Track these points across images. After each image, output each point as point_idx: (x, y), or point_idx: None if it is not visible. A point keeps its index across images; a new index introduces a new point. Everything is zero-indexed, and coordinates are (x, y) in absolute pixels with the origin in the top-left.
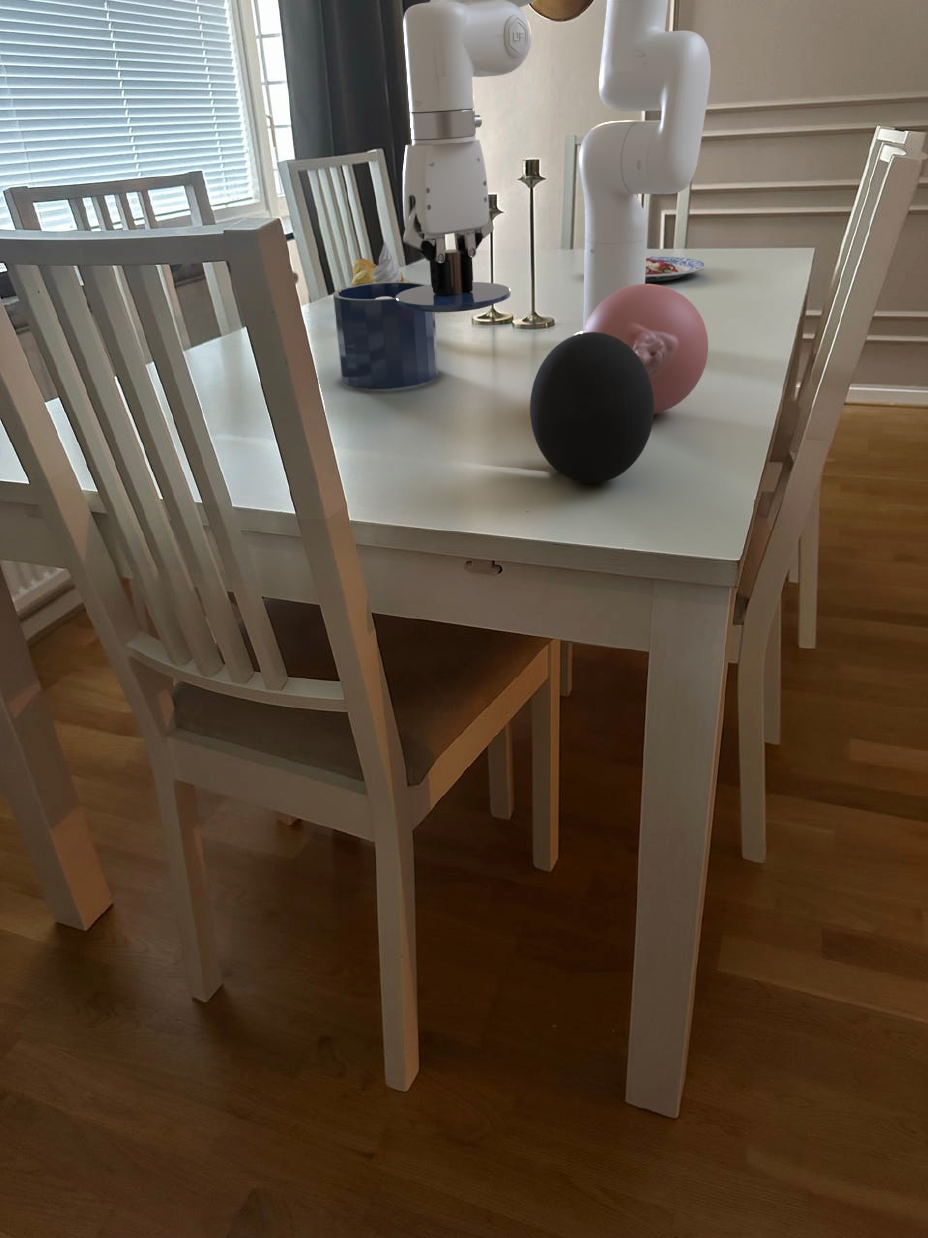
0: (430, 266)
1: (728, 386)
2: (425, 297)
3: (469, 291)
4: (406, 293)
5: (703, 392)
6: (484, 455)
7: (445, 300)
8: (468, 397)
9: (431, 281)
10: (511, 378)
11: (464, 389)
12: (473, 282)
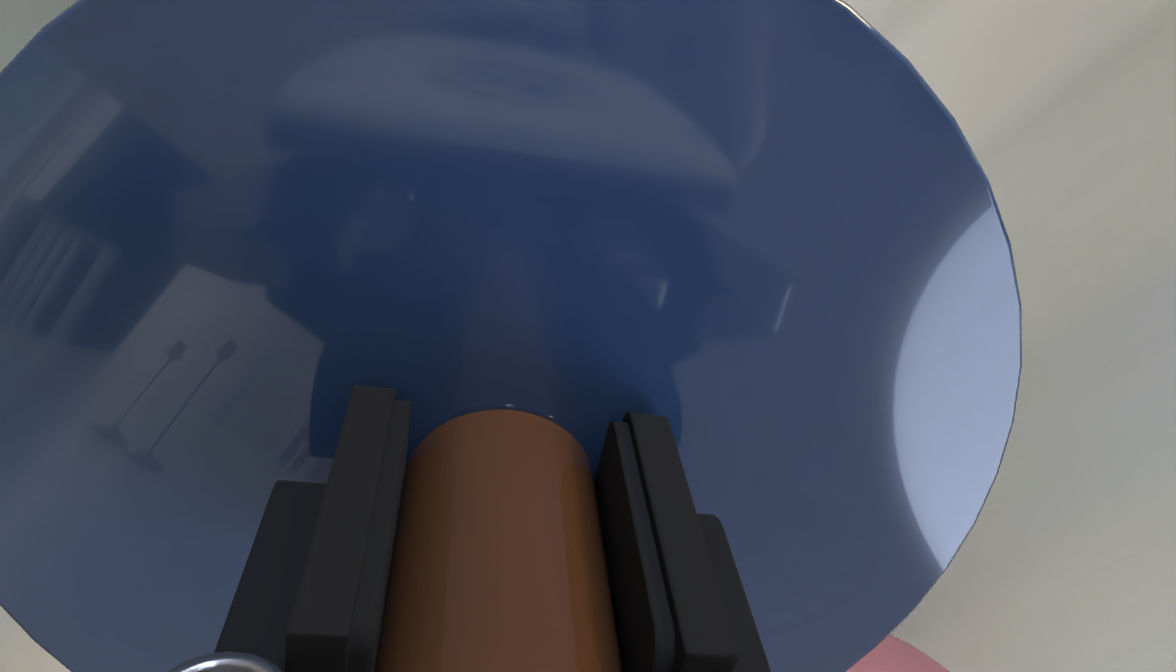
0: (219, 647)
1: (1105, 663)
2: (194, 435)
3: None
4: (158, 102)
5: (1021, 655)
6: None
7: None
8: None
9: (266, 513)
10: (945, 73)
11: None
12: (986, 300)
